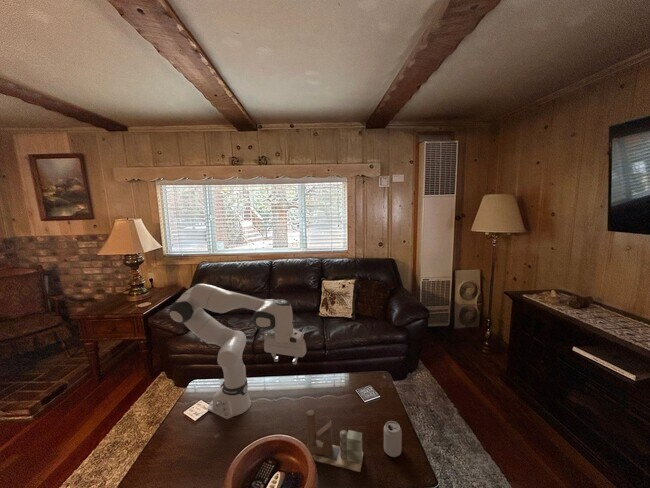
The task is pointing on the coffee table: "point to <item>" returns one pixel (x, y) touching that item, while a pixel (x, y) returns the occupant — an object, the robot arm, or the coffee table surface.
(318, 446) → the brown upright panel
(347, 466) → the hinge jig
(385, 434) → the can
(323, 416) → the coffee table surface
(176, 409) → the coffee table surface
